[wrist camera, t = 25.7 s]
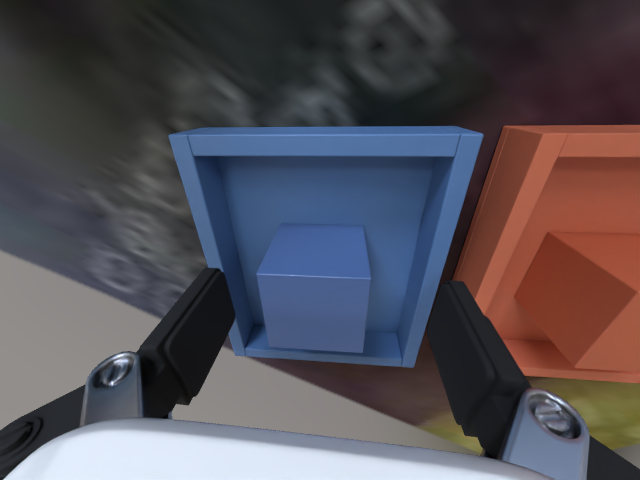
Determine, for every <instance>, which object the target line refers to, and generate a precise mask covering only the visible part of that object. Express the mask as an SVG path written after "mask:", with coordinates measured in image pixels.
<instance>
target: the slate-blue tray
mask: <svg viewBox="0 0 640 480" xmlns="http://www.w3.org/2000/svg"><path fill="white" fill-rule="evenodd" d="M482 139H483V134H482V133H479V132H475V131H471V130H468V129H464V128H460V127H457V126H386V127H223V128H197V129H192V130H188V131H183V132H179V133H174V134H170V135H169V140H170V143H171V146H172V150H173V153H174V156H175V160H176V163H177V166H178V169H179V173H180V176H181V179H182V183H183V186H184V189H185V192H186V196H187V199H188V202H189V206H190V209H191V212H192V216H193V219H194V222H195V225H196V229H197V232H198V235H199V239H200V242H201V245H202V248H203V252H204V255H205V258H206V262H207V265H208V268H219V269H220V270H221V272H224V274H225V277H226V281H227V284H228V288H229V292H230V295H231V299H232V302H233V306H234V310H235V314H236V317H235V321H234V323H233V325H232V327H231V329H230V331H229V333H228V334H229V337H230V340H231V344H232V347H233V350H234V354H235V355H236V356H246V355H247V356H251V357H266V358H280V359H295V360H309V361H324V362H339V363H353V364H368V365H382V366H397V367H400V366H402V367H411V368H413V367H414V365H415V361H416V358H417V355H418V351H419V348H420V345H421V342H422V338H423V335H424V332H425V328H426V325H427V322H428V318H429V315H430V312H431V308H432V305H433V302H434V298H435V295H436V292H437V288H438V285H439V282H440V278H441V275H442V272H443V268H444V265H445V262H446V258H447V255H448V252H449V249H450V245H451V242H452V239H453V235H454V232H455V229H456V225H457V222H458V219H459V215H460V212H461V209H462V205H463V202H464V199H465V195H466V192H467V189H468V185H469V182H470V179H471V175H472V172H473V169H474V166H475V162H476V159H477V156H478V152H479V149H480V146H481V142H482ZM281 223H294V224H335V225H363V226H364V233H365V239H366V246H367V252H368V259H369V265H370V272H371V278H372V280H371V288H370V296H369V305H368V313H367V322H366V330H365V339H364V347H363V353H356V352H340V351H324V350H309V349H293V348H278V347H270V346H269V341H268V336H267V330H266V325H265V319H264V314H263V309H262V303H261V298H260V292H259V287H258V282H257V276H256V273H257V271H258V269H259V267H260V265H261V263H262V261H263V259H264V257H265V255H266V253H267V251H268V249H269V247H270V245H271V243H272V241H273V238H274V236H275V234H276V232H277V230H278V228H279V226H280V224H281Z"/></svg>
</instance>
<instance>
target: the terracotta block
mask: <svg viewBox="0 0 640 480" xmlns="http://www.w3.org/2000/svg"><path fill="white" fill-rule="evenodd" d="M515 298H516V300H517V301H518V302H519V303H520V304H521V305H522V307H523V308H524V309H525V310H526V311H527V312H528V314H529V315H530V316H531V317H532V318H533V320H534V321H535V322H536V323H537V324H538V325H539V327H540V328H541V329H542V330H543V331H544V332H545V334H546V335H547V336H548V337H549V338H550V340H551V341H552V342H553V343H554V344H555V345H556V347H557V348H558V349H559V350H560V351H561V352H562V354H563V355H564V356H565V357H566V358H567V360H568V361H569V362H570V363H571V364H572V365H573V367H575V368H585V369H600V370H616V371H631V372H640V234H626V233H585V232H548V233H547V235H546V237H545V239H544V241H543V243H542V245H541V247H540V248H539V250H538V252H537V254H536V256H535V258H534V260H533V262H532V264H531V266H530V268H529V270H528V272H527V273H526V275H525V277H524V279H523V281H522V283H521V285H520V287H519V289H518V291H517V293H516V295H515Z"/></svg>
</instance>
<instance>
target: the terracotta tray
mask: <svg viewBox="0 0 640 480" xmlns="http://www.w3.org/2000/svg"><path fill="white" fill-rule="evenodd" d="M548 232H585V233H626V234H640V125H549V126H504V127H503V129H502V132H501V135H500V138H499V141H498V144H497V147H496V150H495V153H494V156H493V159H492V162H491V165H490V168H489V171H488V174H487V177H486V180H485V183H484V186H483V189H482V192H481V195H480V198H479V201H478V204H477V207H476V210H475V213H474V216H473V219H472V222H471V225H470V228H469V231H468V234H467V237H466V240H465V243H464V246H463V249H462V252H461V255H460V258H459V261H458V264H457V267H456V270H455V273H454V276H453V279H452V281H463V282H464V283H465V284H466V286H467V288H468V289H469V291H470V293H471V294H472V296H473V298H474V299H475V301H476V303H477V304H478V306H479V308H480V309H481V311H482V313H483V314H484V316H486V317H488V318H489V320H490V321H491V322H492V324H493V326H494V327H495V329H496V330H497V332H498V334H499V335H500V337H501V338H502V340H503V342H504V343H505V345H506V347H507V348H508V350H509V351H510V353H511V355H512V356H513V358H514V360H515V361H516V363H517V364H518V366H519V368H520V369H521V371H522V372H523V374H524V375H526V376H540V377H555V378H569V379H584V380H599V381H613V382H628V383H640V372H631V371H616V370H600V369H585V368H575V367H573V365H572V364H571V363H570V362H569V361H568V360H567V358H566V357H565V356H564V355H563V354H562V352H561V351H560V350H559V349H558V348H557V347H556V345H555V344H554V343H553V342H552V341H551V340H550V338H549V337H548V336H547V335H546V334H545V332H544V331H543V330H542V329H541V328H540V327H539V325H538V324H537V323H536V322H535V321H534V320H533V318H532V317H531V316H530V315H529V314H528V312H527V311H526V310H525V309H524V308H523V307H522V305H521V304H520V303H519V302H518V301H517V300H516V298H515V295H516V293H517V291H518V289H519V287H520V285H521V283H522V281H523V279H524V277H525V275H526V273H527V272H528V270H529V268H530V266H531V264H532V262H533V260H534V258H535V256H536V254H537V252H538V250H539V248H540V247H541V245H542V243H543V241H544V239H545V237H546V235H547V233H548Z"/></svg>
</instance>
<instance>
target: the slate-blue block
mask: <svg viewBox="0 0 640 480" xmlns="http://www.w3.org/2000/svg"><path fill="white" fill-rule="evenodd" d="M256 276H257V282H258V287H259V292H260V298H261V303H262V309H263V314H264V319H265V325H266V330H267V336H268V341H269V346H270V347H278V348H293V349H309V350H324V351H340V352H356V353H363V347H364V339H365V330H366V322H367V313H368V305H369V296H370V288H371V280H372V278H371V272H370V265H369V259H368V252H367V246H366V239H365V233H364V226H363V225H335V224H294V223H281V224H280V226H279V228H278V230H277V232H276V234H275V236H274V238H273V241H272V243H271V245H270V247H269V249H268V251H267V253H266V255H265V257H264V259H263V261H262V263H261V265H260V267H259V269H258V271H257V273H256Z"/></svg>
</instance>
